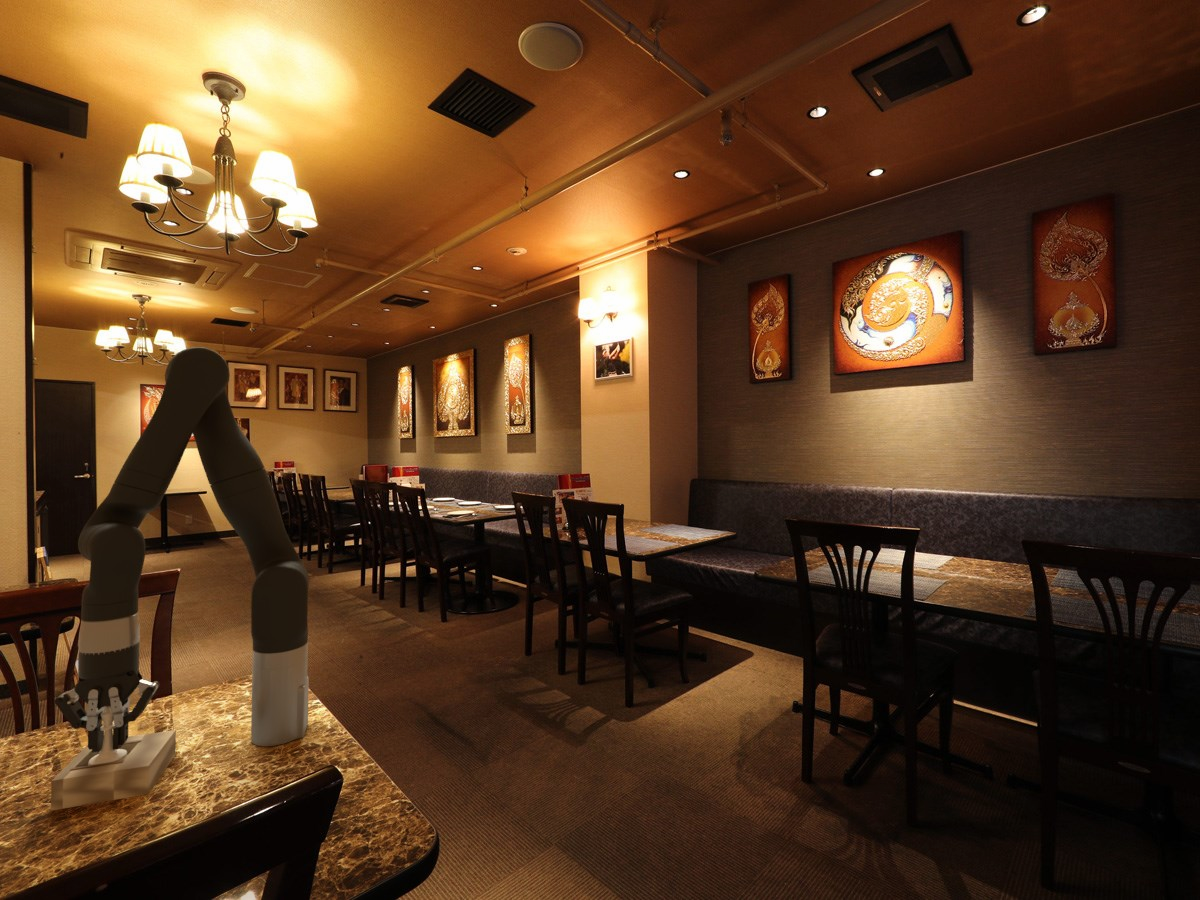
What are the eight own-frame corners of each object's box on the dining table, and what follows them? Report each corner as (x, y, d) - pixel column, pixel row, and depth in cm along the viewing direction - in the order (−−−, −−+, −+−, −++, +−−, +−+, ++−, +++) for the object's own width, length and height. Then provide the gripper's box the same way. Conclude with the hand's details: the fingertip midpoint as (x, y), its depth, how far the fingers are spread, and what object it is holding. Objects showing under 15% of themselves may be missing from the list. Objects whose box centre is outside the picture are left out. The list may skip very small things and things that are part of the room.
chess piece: (103, 771, 88) (104, 708, 88) (79, 767, 89) (80, 705, 89) (135, 755, 93) (136, 695, 93) (112, 751, 94) (113, 692, 94)
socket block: (175, 755, 99) (175, 729, 99) (148, 794, 88) (148, 764, 88) (90, 767, 95) (91, 740, 95) (50, 810, 83) (51, 779, 83)
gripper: (169, 631, 97) (167, 730, 97) (68, 640, 92) (66, 744, 92) (152, 646, 90) (150, 752, 90) (42, 656, 85) (40, 769, 85)
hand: (108, 748), depth 91 cm, fingers closed on chess piece
